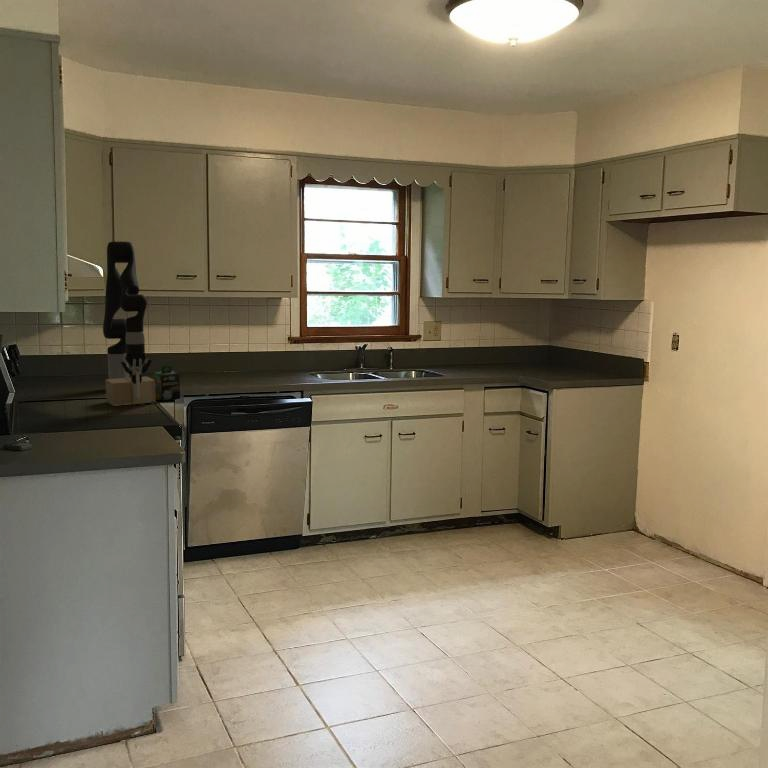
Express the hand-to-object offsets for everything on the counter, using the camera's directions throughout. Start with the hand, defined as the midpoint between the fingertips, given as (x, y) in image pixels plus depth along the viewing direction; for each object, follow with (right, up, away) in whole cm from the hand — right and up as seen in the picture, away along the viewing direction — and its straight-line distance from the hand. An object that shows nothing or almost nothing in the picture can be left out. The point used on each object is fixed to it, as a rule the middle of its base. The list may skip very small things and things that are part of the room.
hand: (136, 383), depth 349 cm
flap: (+2, -9, +4) cm, 10 cm away
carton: (-5, -8, +10) cm, 14 cm away
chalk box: (+7, -7, +22) cm, 24 cm away
